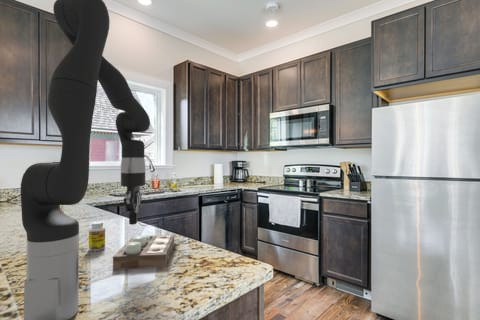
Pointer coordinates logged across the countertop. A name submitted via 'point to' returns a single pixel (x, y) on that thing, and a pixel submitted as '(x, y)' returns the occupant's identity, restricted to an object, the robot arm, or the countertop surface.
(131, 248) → the button near
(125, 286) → the countertop surface
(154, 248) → the brown wooden tray
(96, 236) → the supplement bottle
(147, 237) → the button far
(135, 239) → the button middle
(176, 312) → the countertop surface
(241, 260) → the countertop surface
